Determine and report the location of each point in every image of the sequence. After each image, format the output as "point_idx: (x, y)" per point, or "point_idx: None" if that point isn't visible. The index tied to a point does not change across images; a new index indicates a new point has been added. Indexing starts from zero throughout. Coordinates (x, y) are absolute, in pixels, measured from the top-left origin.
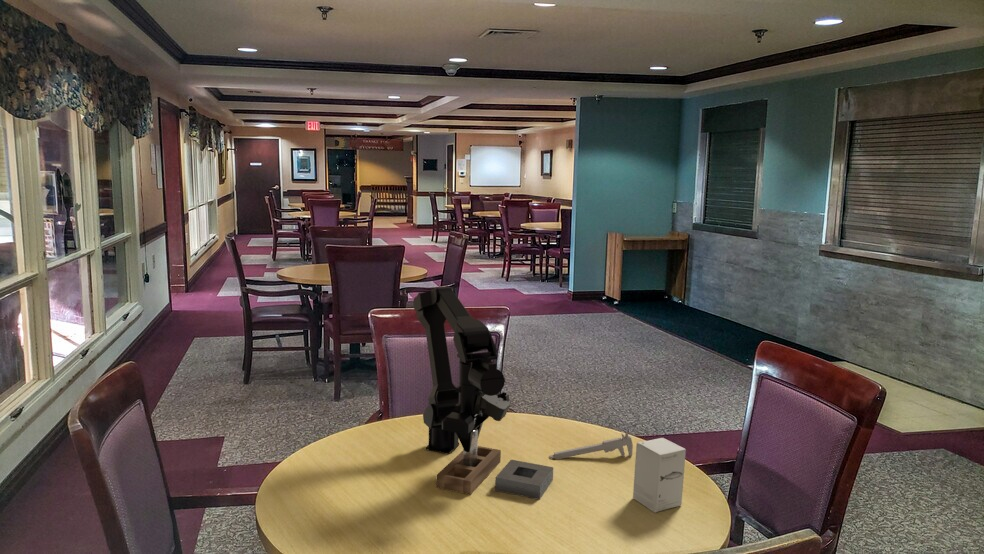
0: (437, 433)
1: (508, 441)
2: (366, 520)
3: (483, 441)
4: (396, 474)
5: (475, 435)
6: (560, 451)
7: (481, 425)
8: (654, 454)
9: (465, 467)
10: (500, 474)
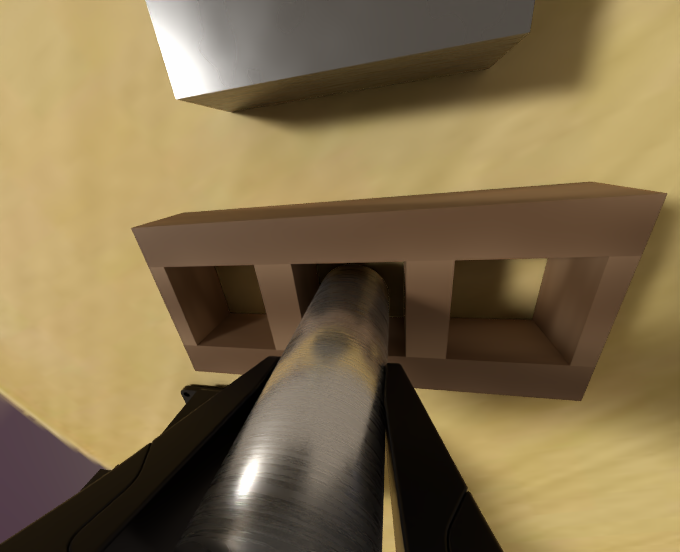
0: None
1: (38, 262)
2: None
3: (110, 333)
4: (470, 470)
5: (317, 481)
6: None
7: (61, 528)
8: None
9: (432, 309)
10: (453, 21)
